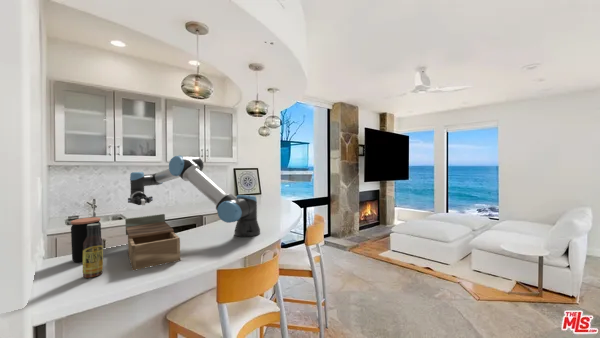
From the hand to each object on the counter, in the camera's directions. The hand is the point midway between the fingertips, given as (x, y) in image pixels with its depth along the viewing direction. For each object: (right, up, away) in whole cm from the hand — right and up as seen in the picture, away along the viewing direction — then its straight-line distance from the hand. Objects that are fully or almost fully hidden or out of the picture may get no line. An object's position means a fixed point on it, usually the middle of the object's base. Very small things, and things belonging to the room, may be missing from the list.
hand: (143, 202), depth 147 cm
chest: (+19, -22, -24) cm, 38 cm away
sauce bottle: (+5, -23, -42) cm, 48 cm away
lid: (+10, -15, -13) cm, 22 cm away
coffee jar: (-12, -23, -24) cm, 35 cm away
